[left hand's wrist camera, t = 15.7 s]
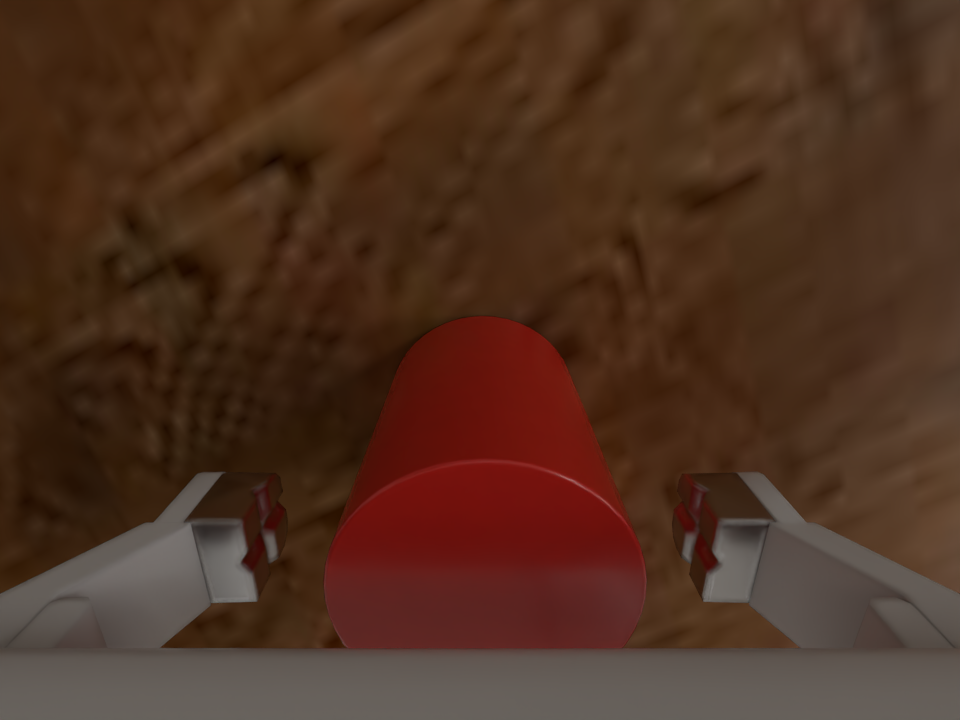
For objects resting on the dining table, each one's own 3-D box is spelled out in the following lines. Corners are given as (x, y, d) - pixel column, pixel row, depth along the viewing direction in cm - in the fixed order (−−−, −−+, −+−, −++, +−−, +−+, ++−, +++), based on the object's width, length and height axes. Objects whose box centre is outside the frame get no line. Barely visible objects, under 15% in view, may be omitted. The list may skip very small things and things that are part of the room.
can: (463, 277, 14) (448, 393, 7) (610, 385, 15) (717, 574, 8) (357, 418, 15) (263, 623, 9) (498, 506, 16) (512, 747, 10)
